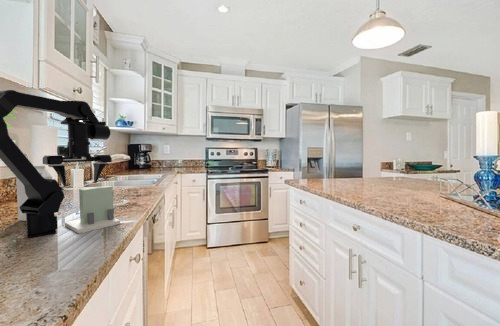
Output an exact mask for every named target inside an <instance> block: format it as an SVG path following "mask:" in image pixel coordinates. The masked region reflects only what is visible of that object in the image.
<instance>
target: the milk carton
mask: <svg viewBox="0 0 500 326" xmlns="http://www.w3.org/2000/svg"><path fill="white" fill-rule="evenodd" d="M33 166H34V167H35V168H36V170H37V171H38V172H39V173H40V174H41V176H42V177H43V178H45V179H53V176H52V174H51V173H50V172H49V171H48V170H47V169H46V165H33ZM15 182H16V198H17V200H16V202H17V217H18V221H24V222H27V219H26V214H27V213H22V212H21V210H20V208H19V207H20V206H21V205H22V204H23V203H24V202H25V201H26V200H27V199H28V197H27V195H26V193H25V187H24V185H23V183H22V182H21V181H20V180H19V179H18V178H17V177H16V178H15Z"/></svg>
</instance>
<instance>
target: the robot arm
mask: <svg viewBox="0 0 500 326" xmlns="http://www.w3.org/2000/svg"><path fill="white" fill-rule="evenodd" d="M15 108H22V109H28V110H36V111H40V112H49V113H54V114H57V115H59V116H60V117H61V116H62V117H64V118H65V119H64V120H62V121H60V124H61V125H65V126H67V134H68V135H67V138H68V140H67V144H66V145H67V146H64V145H58V146H57V148H56V152H57V154H54V155H53V154H51V155H43V156H42V165H45V166H46V165H47V166H48V167H49V168H52V169H53V170H54V171H55V172H56V174H57V176H58V178H59V180H60V182H61V183H62V186H63V187H66V185H67V179H66V178H67V177H66V166H65V165H63V163H80V162H81V163H83V162H84V163H85V162H93V163H92V164H93V183H94V184H97V183H98V180H99V178H100V176H101V173H102V172H103V169H105V167H106V166H107V165H109V163H112V162H113V159H112V156H111V154H93V156H91V153H90V145H91V141H90V140H98V141H99V140H100V141H106V140H108V139H109V138H110V137H111V130H110V127H109V126H108V125H107V122H106V121H99V119H98V118H97V116H96V115H95V113H94V112H93V110H92V108H91V107H90V105H89V103H88V102H87V101H85V100H59V99H55V98H50V97H45V96H40V95H35V94H31V93H30V94H29V93H24V92H19V91H17V90H15V89H14V90H13V89H7V90H0V160H1V161H2V163H4V164H5V166H6V167H7V169H9V170H10V171H11V172H12V173H13V175H14V176H15V177H16V178H18V179H19V180H20V181H21V182H22V183H23V185H24V187H25V193H26V195H27V197H28V199H27V200H26V201H25V202H24V203H23V204H22V205H21V206H20V207H19V208H20V210H21V212H22V213H27V214H26V219H27V221H26V238H27V239H29V238H34V237H40V236H41V237H42V236H46V235H51V234H56V233H57V230H58V228H59V227H58V216H57V214H55V213H58V212H59V211H60V208H61V204H62V203H63V200H64V197H65V193H64V188H63V187H61V186H60V184H59V183H58V181H57V180H56V179H53V178H52V179H45V178H43V177H42V176H41V174H40V173H39V172H38V171H37V170H36V168H35V167H34V166H35V165H33V163H32V162H31V160H29V158H28V157H27V156H26V155H25V153H23V151H22V150H21V149H20V148H19V146H18V145H17V144H16V142H14V141H13V139H12V138H11V137H10V133H9V130H8V125H7V122H6V120H5V119H4V118H5V117H7V116H8V115H9V114H10V113H12V111H13V110H14V109H15Z"/></svg>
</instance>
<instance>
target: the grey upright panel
mask: <svg viewBox="0 0 500 326" xmlns="http://www.w3.org/2000/svg"><path fill="white" fill-rule="evenodd" d="M78 194H79V195H78V196H79V197H78V199H79V215H80V216H79V219H80V223H82V224H88V217H87V213H92V212H93V213H94V222H97V221H102V220H107V219H108V209H114V210H115V207H114V189H113V186H111V185H106V186H105V185H104V186H94V187H87V188H86V187H85V188H79V190H78Z"/></svg>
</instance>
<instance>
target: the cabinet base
mask: <svg viewBox="0 0 500 326" xmlns="http://www.w3.org/2000/svg"><path fill="white" fill-rule="evenodd" d="M114 214H115V208H114V209H108V219H107V220H102V221H97V222H94V213H93V212H92V213H87V217H88V224H82V223H80V218H79V219H76V220H75V219H74V220H70V221H65V222H64V226H65V227H66V228H67V229H70V230H72V231H74V232H75V233H77V234H78V233H79V234H82V233H81V232H83V233H87V231H88V232H91V230H92V231H96V230H99V229H103V228H109V227H112V226H116V225H121V220H120V219H117V218H115V215H114Z"/></svg>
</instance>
